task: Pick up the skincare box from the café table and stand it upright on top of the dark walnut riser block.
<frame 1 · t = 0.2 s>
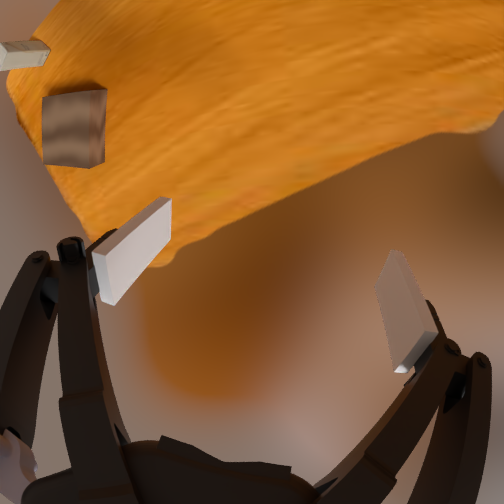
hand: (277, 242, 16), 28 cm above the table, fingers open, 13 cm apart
walnut riser: (80, 125, 43), on the table
skincare box: (42, 53, 34), on the table
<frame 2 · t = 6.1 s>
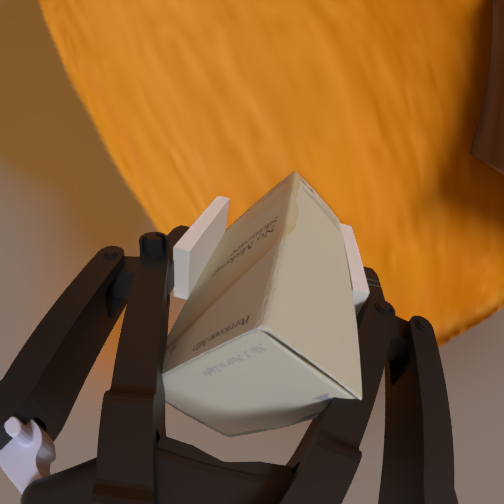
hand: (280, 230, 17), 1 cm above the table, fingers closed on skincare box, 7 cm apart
skincare box: (281, 225, 18), on the table, touching gripper
when the fingers open (7 cm above the table, at t = 12.9 s): skincare box drops 2 cm, resting on walnut riser.
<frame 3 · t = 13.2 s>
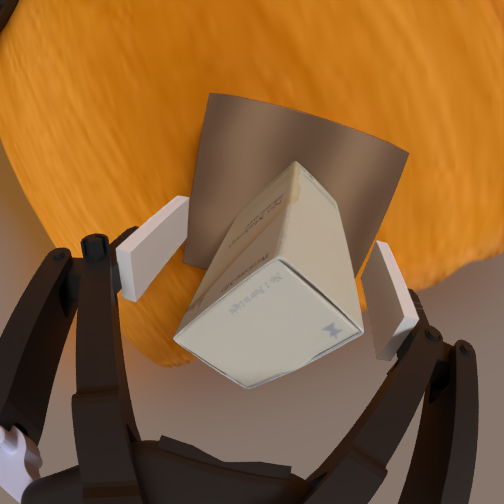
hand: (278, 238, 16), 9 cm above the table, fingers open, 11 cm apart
walnut riser: (289, 190, 24), on the table, touching skincare box
skincare box: (286, 209, 20), point 4 cm above the table, touching walnut riser
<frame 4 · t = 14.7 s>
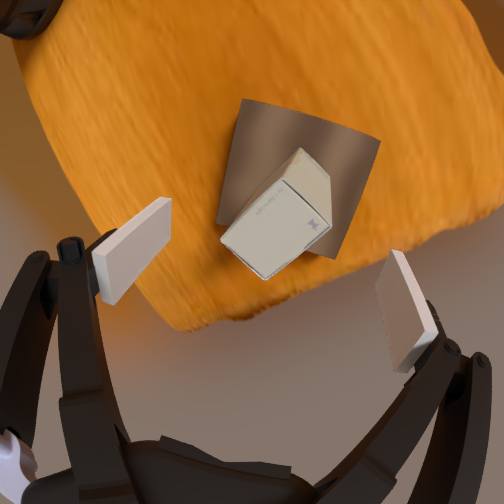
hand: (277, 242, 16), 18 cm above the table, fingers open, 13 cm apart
walnut riser: (295, 171, 32), on the table
skincare box: (294, 182, 28), point 4 cm above the table
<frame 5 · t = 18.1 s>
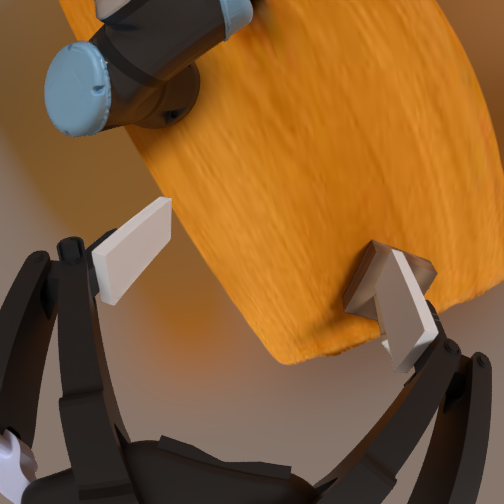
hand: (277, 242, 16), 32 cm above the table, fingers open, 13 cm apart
walnut riser: (386, 278, 52), on the table
skincare box: (391, 294, 48), point 4 cm above the table
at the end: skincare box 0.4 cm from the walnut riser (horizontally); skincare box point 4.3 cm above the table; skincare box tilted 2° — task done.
